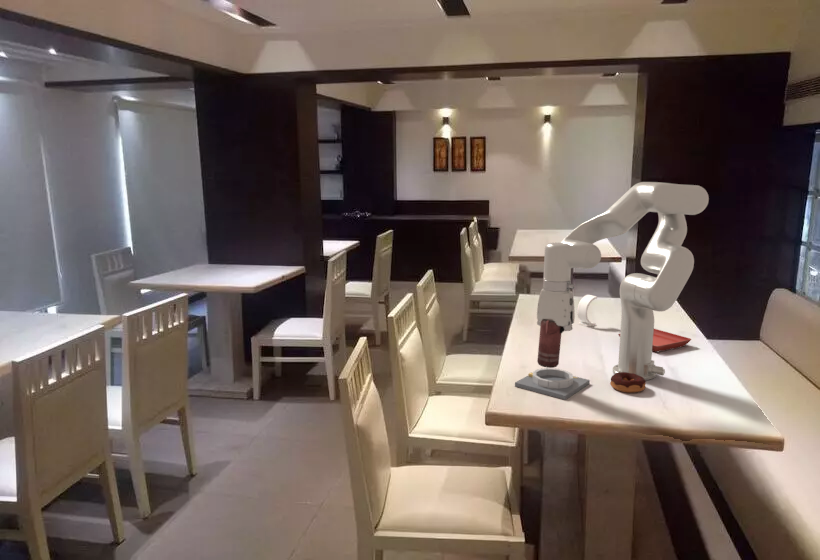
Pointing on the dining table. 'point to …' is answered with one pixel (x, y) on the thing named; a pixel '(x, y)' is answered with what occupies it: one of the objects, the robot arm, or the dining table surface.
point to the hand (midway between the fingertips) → (553, 347)
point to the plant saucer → (667, 341)
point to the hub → (552, 382)
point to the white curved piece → (585, 310)
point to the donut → (627, 382)
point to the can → (549, 344)
